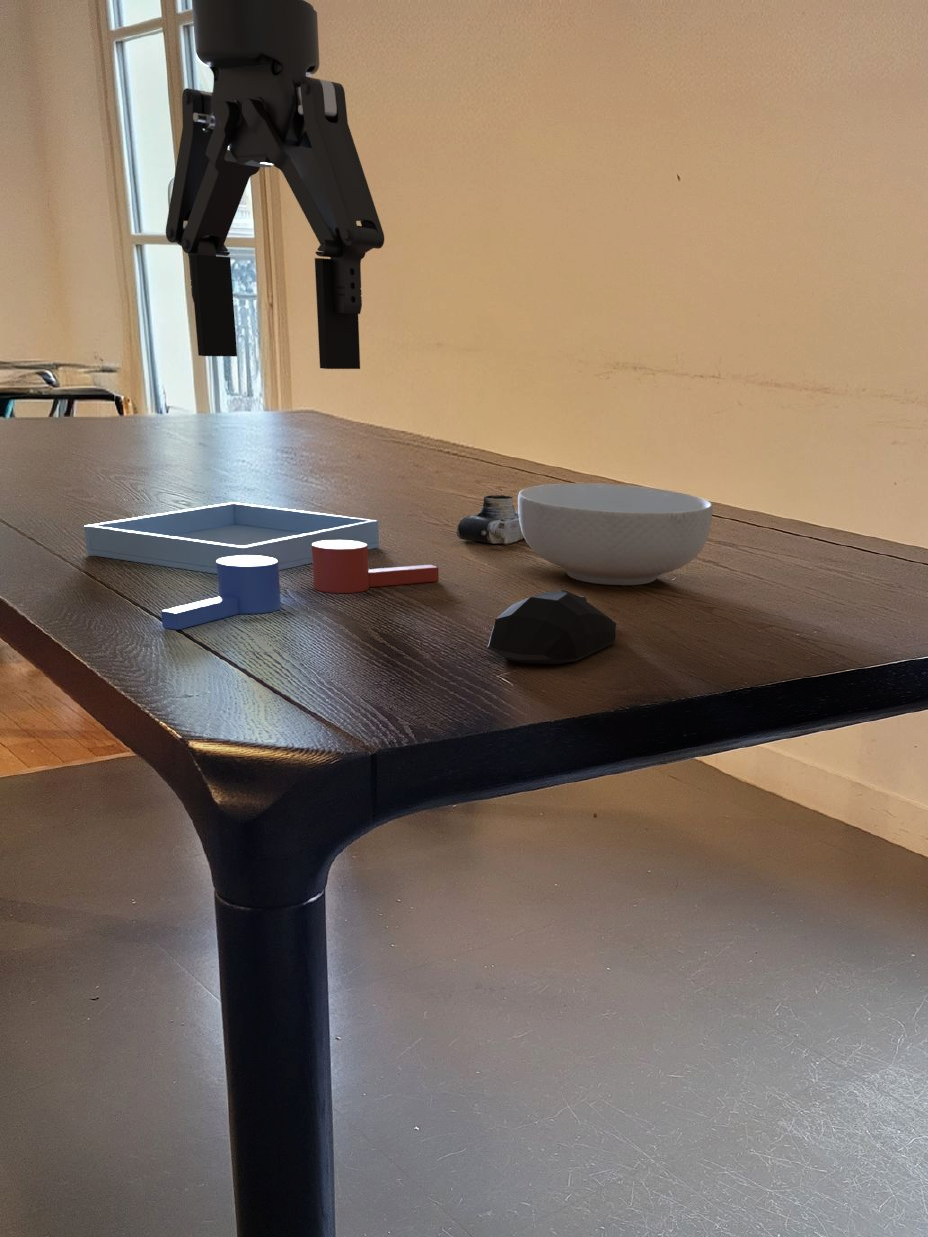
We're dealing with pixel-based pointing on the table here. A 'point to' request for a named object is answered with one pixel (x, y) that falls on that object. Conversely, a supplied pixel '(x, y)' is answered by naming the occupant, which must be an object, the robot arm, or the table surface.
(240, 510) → the blue tray
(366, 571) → the red scoop
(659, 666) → the table surface
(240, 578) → the blue scoop
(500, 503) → the camera
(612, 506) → the cereal bowl
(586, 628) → the black faceted rock
